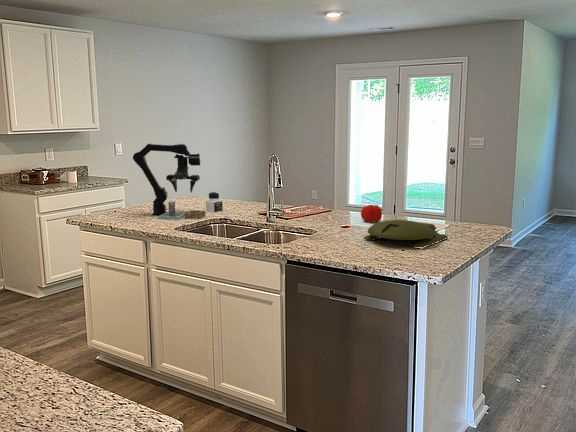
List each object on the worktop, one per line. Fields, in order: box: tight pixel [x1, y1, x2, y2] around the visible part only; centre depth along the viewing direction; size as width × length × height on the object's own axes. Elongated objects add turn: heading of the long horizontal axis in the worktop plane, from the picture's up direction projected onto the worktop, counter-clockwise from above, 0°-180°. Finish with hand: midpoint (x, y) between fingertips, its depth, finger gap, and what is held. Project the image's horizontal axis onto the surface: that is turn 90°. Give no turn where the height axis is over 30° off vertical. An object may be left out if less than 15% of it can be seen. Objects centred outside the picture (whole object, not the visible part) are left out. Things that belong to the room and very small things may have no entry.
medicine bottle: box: [205, 191, 224, 213], centre depth 342 cm, size 7×7×12 cm
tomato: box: [360, 204, 383, 223], centre depth 312 cm, size 11×12×9 cm
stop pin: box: [168, 201, 176, 217], centre depth 321 cm, size 4×4×9 cm
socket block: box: [184, 209, 206, 220], centre depth 322 cm, size 9×9×4 cm
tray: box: [157, 212, 186, 221], centre depth 321 cm, size 12×12×2 cm
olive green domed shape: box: [363, 219, 448, 248], centre depth 267 cm, size 35×31×10 cm
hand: (183, 192), depth 335 cm, fingers open, 9 cm apart
